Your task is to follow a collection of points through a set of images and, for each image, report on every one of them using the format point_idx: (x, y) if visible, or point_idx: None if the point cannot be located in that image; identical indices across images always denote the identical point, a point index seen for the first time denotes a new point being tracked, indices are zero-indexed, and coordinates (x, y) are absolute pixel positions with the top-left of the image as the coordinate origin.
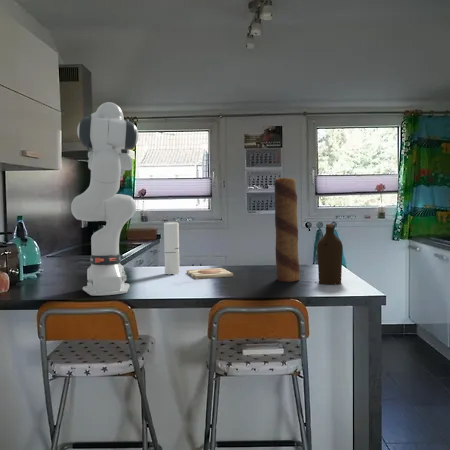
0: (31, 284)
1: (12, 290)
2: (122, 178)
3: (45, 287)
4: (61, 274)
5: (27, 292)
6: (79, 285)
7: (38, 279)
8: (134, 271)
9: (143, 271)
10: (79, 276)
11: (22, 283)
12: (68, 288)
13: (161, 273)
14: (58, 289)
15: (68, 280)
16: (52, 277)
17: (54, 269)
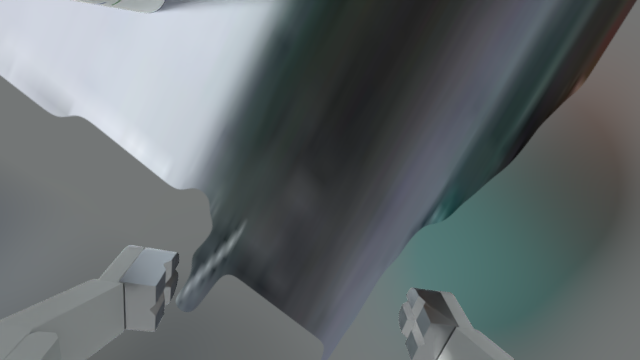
0: (495, 133)
1: (564, 88)
2: (125, 248)
3: (502, 66)
4: (377, 213)
5: (566, 32)
6: (439, 24)
7: (447, 185)
8: (218, 124)
9: (197, 104)
10: (364, 156)
11: (498, 160)
12: (481, 2)
13: (167, 24)
14: (503, 9)
15: (413, 120)
16: (413, 189)
17: (352, 286)
